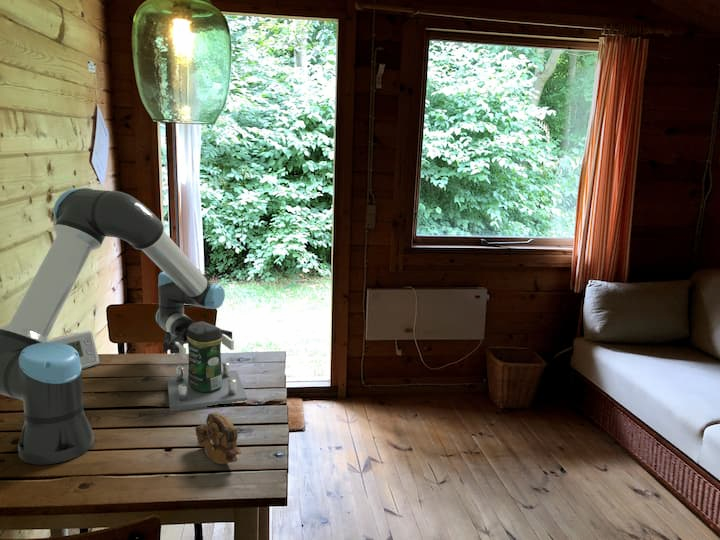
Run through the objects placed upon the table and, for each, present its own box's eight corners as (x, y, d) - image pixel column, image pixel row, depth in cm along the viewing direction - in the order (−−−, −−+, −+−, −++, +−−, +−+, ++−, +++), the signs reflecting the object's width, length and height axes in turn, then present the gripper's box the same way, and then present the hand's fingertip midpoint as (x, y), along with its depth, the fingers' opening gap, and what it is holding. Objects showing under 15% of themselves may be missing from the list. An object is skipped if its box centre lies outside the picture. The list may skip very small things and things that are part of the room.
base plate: (247, 402, 156) (247, 383, 155) (170, 411, 149) (169, 392, 148) (236, 375, 174) (236, 358, 173) (167, 381, 167) (166, 364, 166)
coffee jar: (183, 385, 162) (181, 322, 158) (208, 378, 168) (207, 317, 164) (202, 396, 155) (200, 331, 152) (226, 388, 161) (226, 325, 157)
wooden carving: (188, 449, 132) (187, 408, 129) (205, 442, 135) (204, 402, 133) (230, 478, 121) (230, 434, 119) (248, 469, 124) (248, 427, 122)
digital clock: (45, 380, 165) (42, 345, 163) (37, 371, 172) (34, 337, 170) (103, 368, 176) (101, 335, 174) (94, 359, 182) (92, 327, 180)
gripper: (221, 333, 181) (251, 354, 165) (140, 347, 167) (163, 371, 150) (221, 311, 180) (250, 329, 163) (139, 322, 165) (162, 344, 149)
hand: (209, 349), depth 157 cm, fingers open, 13 cm apart
